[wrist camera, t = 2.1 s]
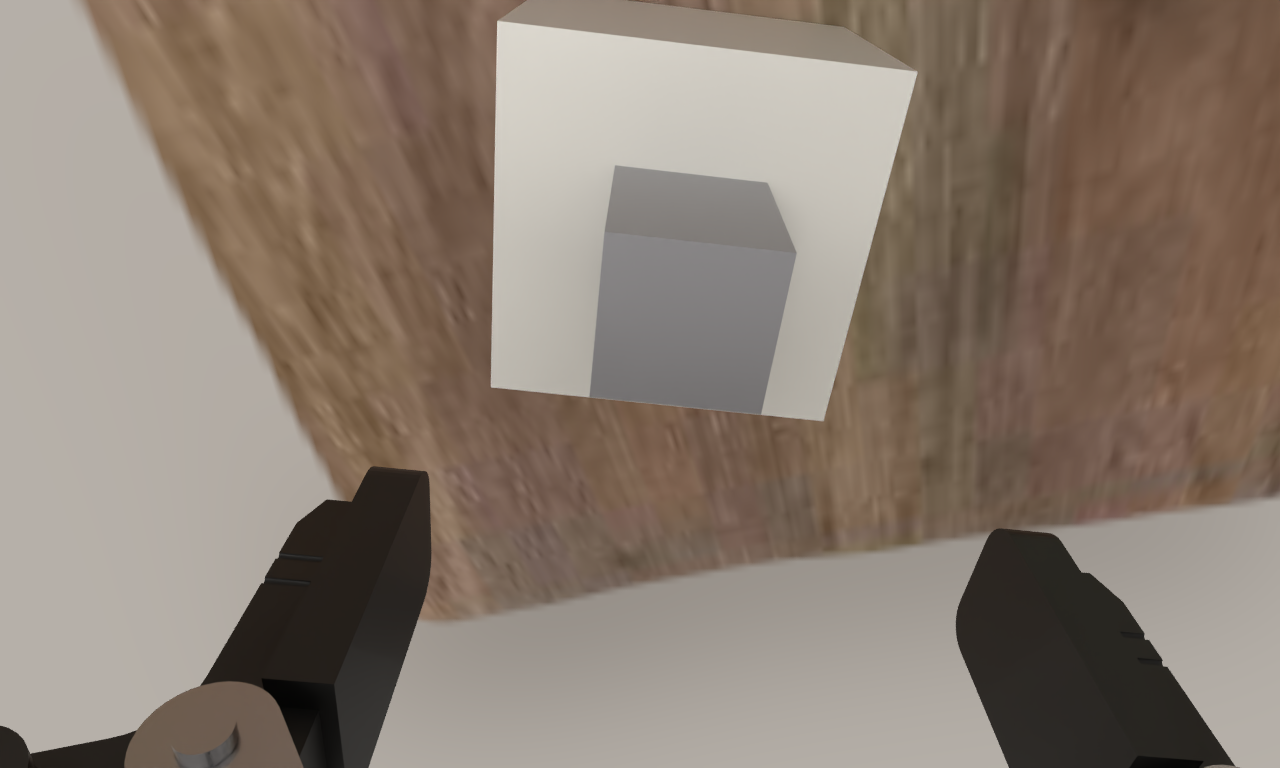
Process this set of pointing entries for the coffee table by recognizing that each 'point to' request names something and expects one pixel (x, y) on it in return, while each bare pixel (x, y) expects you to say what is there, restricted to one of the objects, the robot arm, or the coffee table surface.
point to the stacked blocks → (684, 202)
